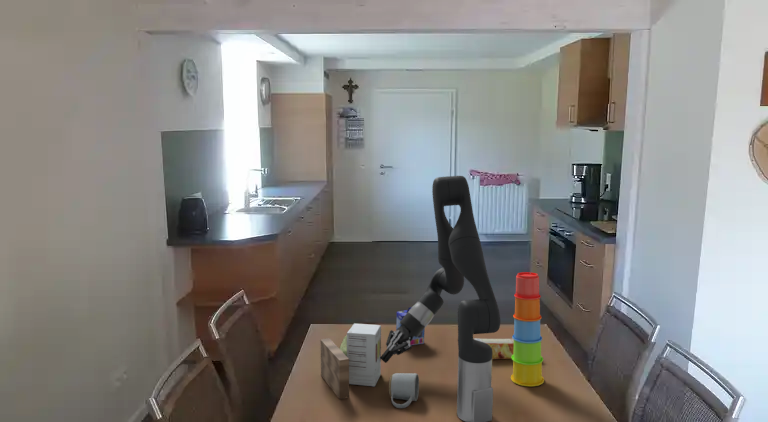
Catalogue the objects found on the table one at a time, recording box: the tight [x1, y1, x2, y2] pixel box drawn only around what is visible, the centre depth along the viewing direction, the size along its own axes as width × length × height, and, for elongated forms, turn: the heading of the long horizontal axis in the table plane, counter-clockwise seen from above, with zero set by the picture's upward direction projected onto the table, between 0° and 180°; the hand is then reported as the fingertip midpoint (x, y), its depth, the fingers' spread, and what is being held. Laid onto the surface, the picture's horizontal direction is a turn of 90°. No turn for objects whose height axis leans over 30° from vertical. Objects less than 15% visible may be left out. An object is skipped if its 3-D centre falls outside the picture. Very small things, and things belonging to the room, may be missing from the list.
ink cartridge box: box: [395, 306, 425, 346], centre depth 209 cm, size 10×6×14 cm, turn 115°
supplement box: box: [346, 323, 382, 387], centre depth 178 cm, size 10×9×17 cm
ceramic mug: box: [388, 372, 420, 409], centre depth 165 cm, size 11×8×8 cm
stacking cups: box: [510, 271, 545, 387], centre depth 176 cm, size 10×10×35 cm
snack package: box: [473, 337, 514, 360], centre depth 197 cm, size 21×7×7 cm, turn 92°
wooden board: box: [319, 338, 350, 400], centre depth 174 cm, size 18×3×12 cm, turn 24°
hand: (382, 360), depth 181 cm, fingers closed
